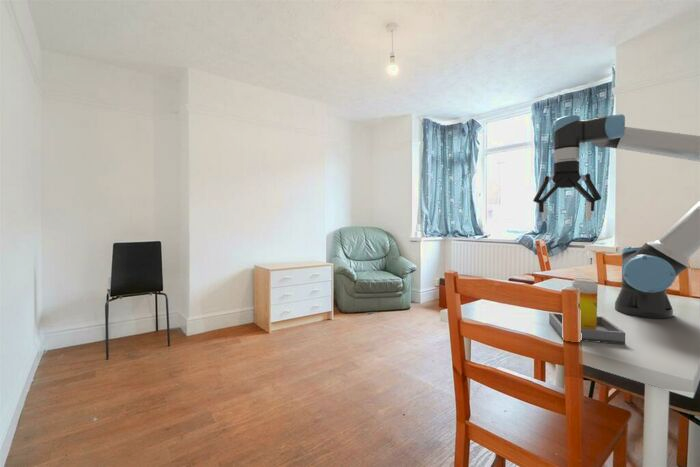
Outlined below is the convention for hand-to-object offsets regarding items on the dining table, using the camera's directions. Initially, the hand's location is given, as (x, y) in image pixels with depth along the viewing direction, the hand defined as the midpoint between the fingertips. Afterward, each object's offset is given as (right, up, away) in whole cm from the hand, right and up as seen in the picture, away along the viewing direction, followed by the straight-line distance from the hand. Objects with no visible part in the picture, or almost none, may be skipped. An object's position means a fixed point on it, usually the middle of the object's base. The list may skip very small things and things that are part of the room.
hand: (565, 221), depth 115 cm
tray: (-8, -34, -20) cm, 40 cm away
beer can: (-8, -33, -19) cm, 39 cm away
